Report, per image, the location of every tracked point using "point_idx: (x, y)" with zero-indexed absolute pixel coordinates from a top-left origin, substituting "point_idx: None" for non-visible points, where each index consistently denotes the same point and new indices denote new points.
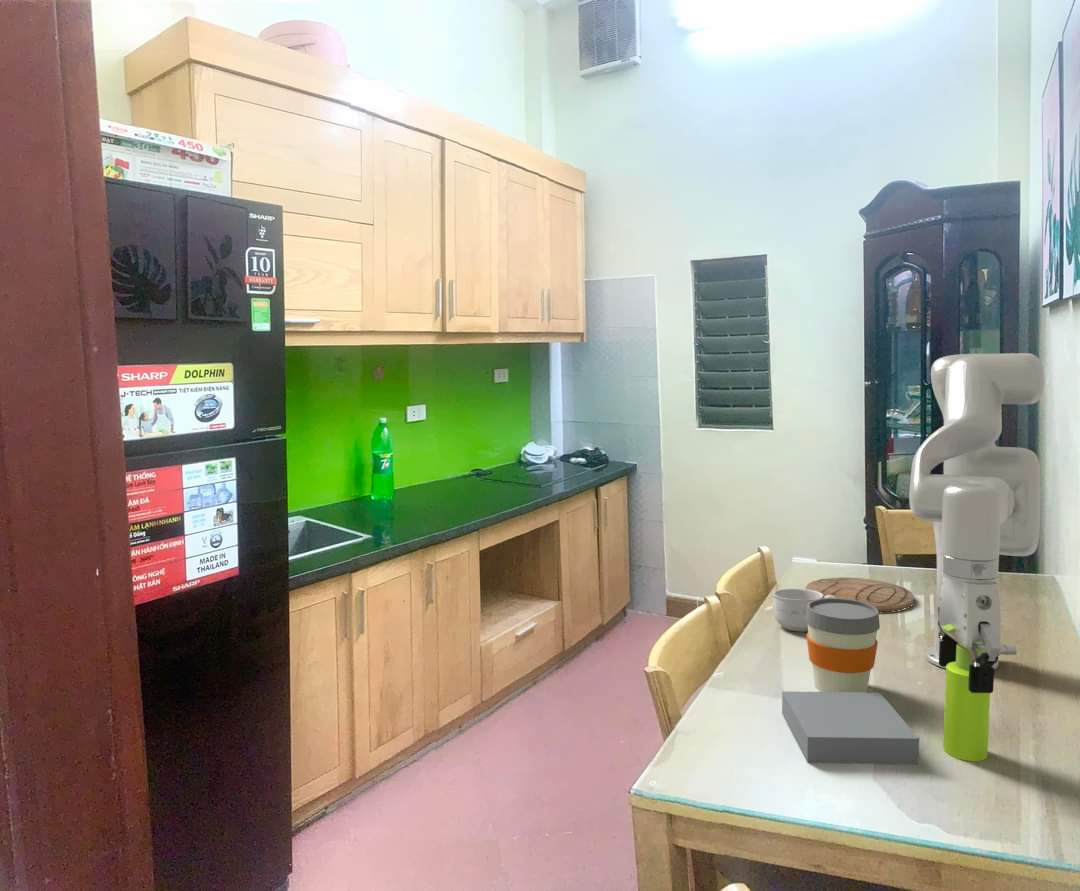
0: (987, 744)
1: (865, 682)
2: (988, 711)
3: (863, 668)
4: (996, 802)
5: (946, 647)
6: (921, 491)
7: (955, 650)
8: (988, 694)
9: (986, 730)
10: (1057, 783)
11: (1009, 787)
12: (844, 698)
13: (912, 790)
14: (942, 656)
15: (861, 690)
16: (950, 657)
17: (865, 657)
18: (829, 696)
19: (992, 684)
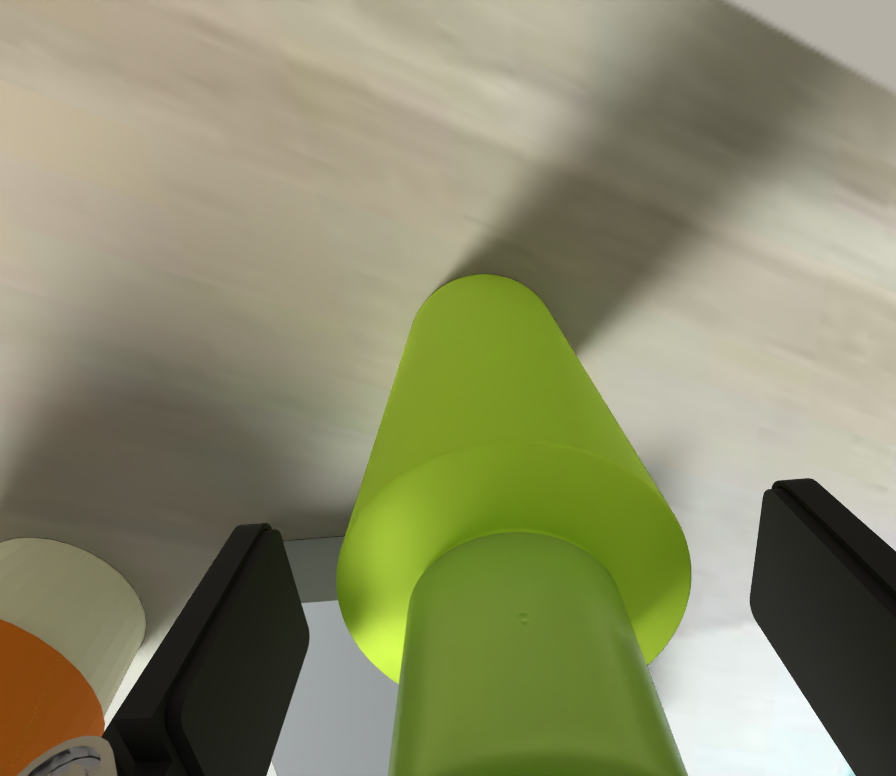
0: (530, 297)
1: (61, 592)
2: (562, 349)
3: (52, 670)
4: (832, 361)
5: (249, 773)
6: None
7: (233, 679)
8: (598, 401)
9: (557, 329)
10: (721, 68)
11: (741, 282)
12: (309, 715)
13: (741, 564)
14: (287, 706)
15: (96, 583)
16: (275, 652)
17: (10, 718)
18: (304, 747)
19: (853, 521)
